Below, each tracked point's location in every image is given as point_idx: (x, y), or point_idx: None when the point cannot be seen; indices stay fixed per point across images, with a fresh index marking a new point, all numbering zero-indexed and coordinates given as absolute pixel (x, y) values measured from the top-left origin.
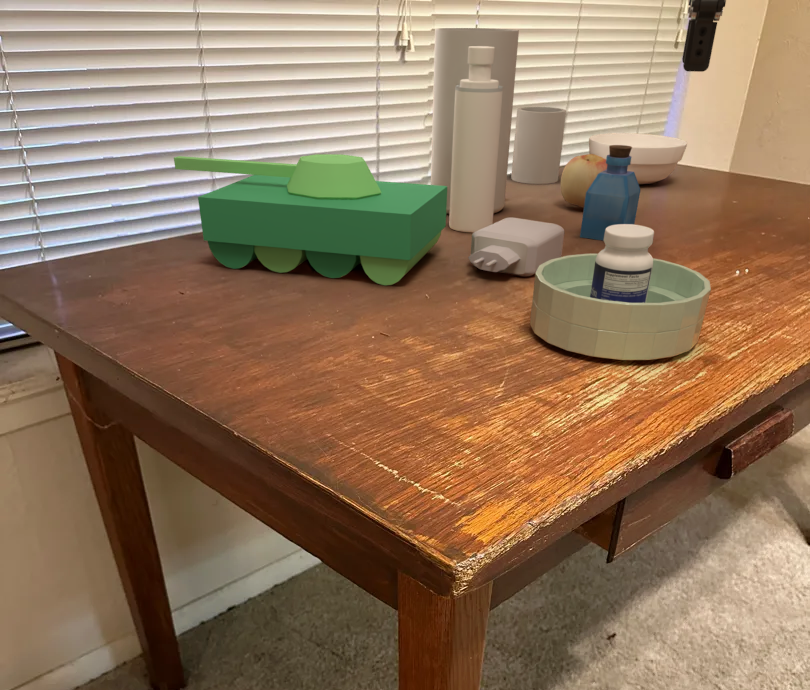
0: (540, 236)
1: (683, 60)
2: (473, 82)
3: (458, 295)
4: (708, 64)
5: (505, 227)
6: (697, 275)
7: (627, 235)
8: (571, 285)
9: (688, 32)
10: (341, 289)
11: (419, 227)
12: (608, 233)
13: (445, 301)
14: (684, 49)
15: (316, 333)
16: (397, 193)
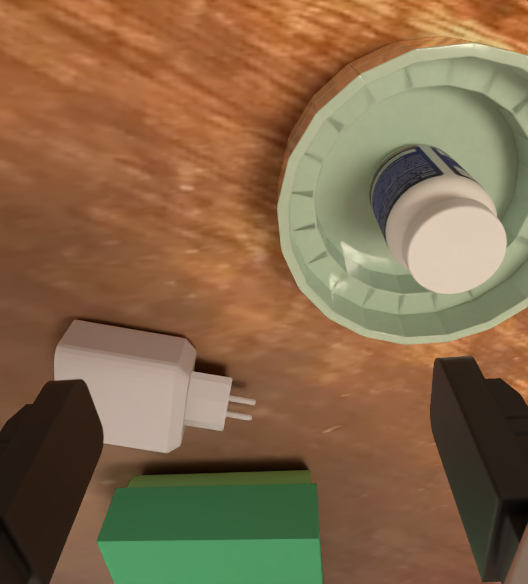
0: (144, 371)
1: (101, 445)
2: None
3: (312, 400)
4: (474, 365)
5: (128, 424)
6: (379, 78)
7: (500, 251)
8: (348, 281)
9: (66, 534)
10: (343, 507)
11: (268, 513)
12: (477, 284)
13: (343, 407)
14: (88, 479)
15: None
16: (192, 576)
